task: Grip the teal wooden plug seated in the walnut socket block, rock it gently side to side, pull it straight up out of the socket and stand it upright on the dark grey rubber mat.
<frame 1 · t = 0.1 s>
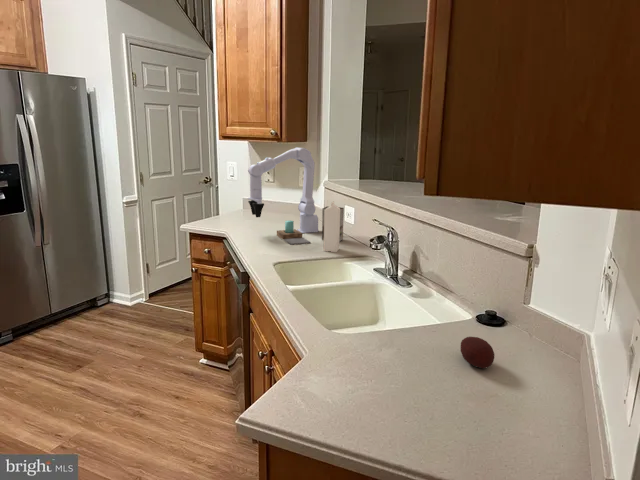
hand: (256, 215, 233), 10 cm above the worktop, tool pointing down, fingers open, 7 cm apart
coffee box: (332, 240, 229), on the worktop
potato: (475, 363, 110), on the worktop
milk: (331, 250, 210), on the worktop
plug: (289, 229, 233), in the socket block
mat: (297, 241, 224), on the worktop
socket block: (289, 236, 234), on the worktop
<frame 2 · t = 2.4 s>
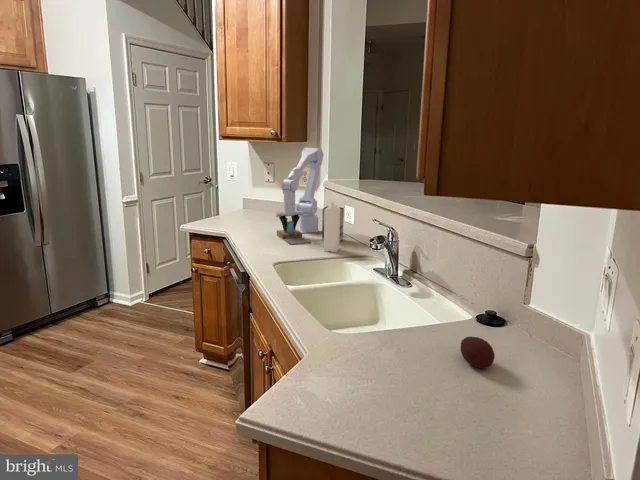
hand: (289, 230, 233), 3 cm above the worktop, tool pointing down, fingers closed on plug, 4 cm apart
plug: (289, 229, 233), in the socket block, touching gripper
everything else where it was.
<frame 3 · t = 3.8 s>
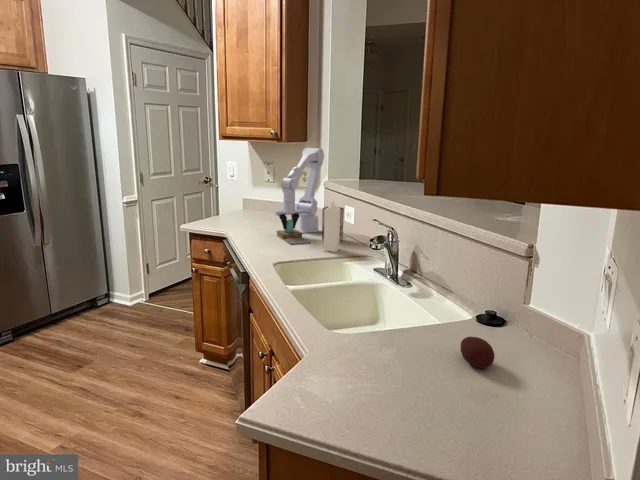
hand: (289, 228, 233), 4 cm above the worktop, tool pointing down, fingers closed on plug, 4 cm apart
plug: (289, 227, 233), in the socket block, point 5 cm above the worktop, touching gripper
everything else where it was.
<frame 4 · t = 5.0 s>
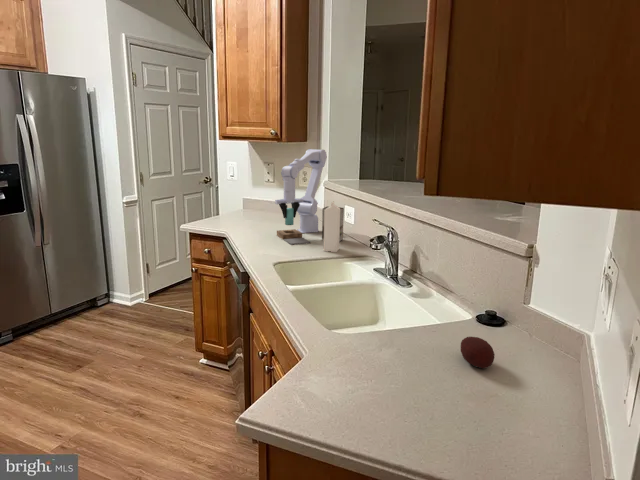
hand: (289, 217, 231), 10 cm above the worktop, tool pointing down, fingers closed on plug, 4 cm apart
plug: (289, 216, 231), point 10 cm above the worktop, touching gripper
everything else where it was.
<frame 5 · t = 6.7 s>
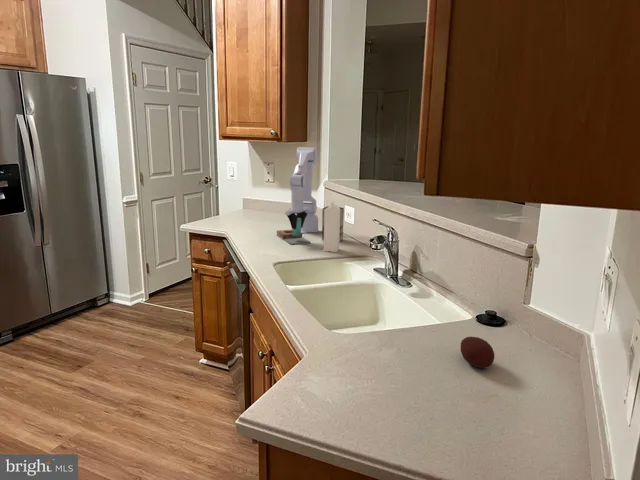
hand: (297, 228, 222), 7 cm above the worktop, tool pointing down, fingers closed on plug, 4 cm apart
plug: (296, 226, 222), point 7 cm above the worktop, touching gripper
everything else where it was.
when the fingers open (5 cm above the worktop, at t = 7.8 s): plug drops 1 cm, resting on mat.
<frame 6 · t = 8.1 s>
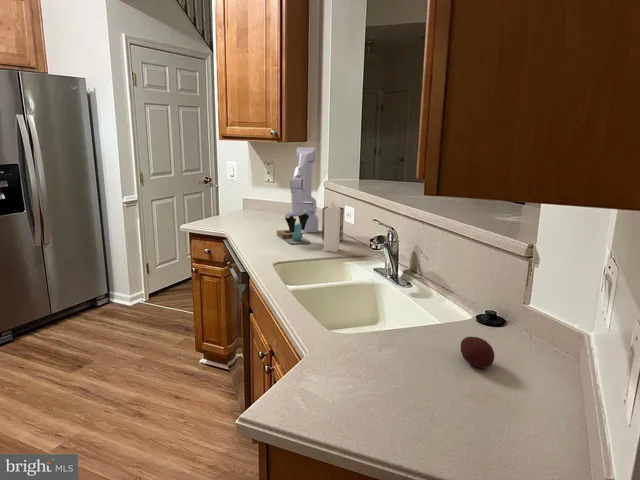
hand: (297, 230, 223), 5 cm above the worktop, tool pointing down, fingers open, 7 cm apart
plug: (296, 232, 223), on the mat, point 5 cm above the worktop
everything else where it was.
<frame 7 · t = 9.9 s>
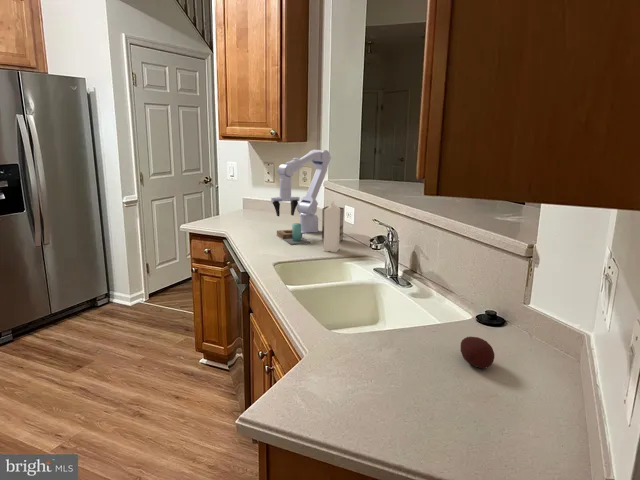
hand: (285, 215, 234), 10 cm above the worktop, tool pointing down, fingers open, 7 cm apart
nothing on the worktop moved.
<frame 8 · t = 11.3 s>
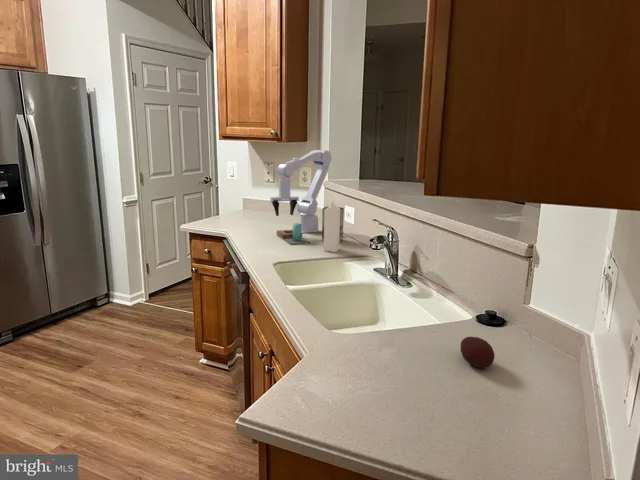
hand: (284, 215, 234), 10 cm above the worktop, tool pointing down, fingers open, 7 cm apart
nothing on the worktop moved.
at the end: plug 0.2 cm off-centre on the mat, point 4.6 cm above the mat's base; plug tilted 1°; plug touching mat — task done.
